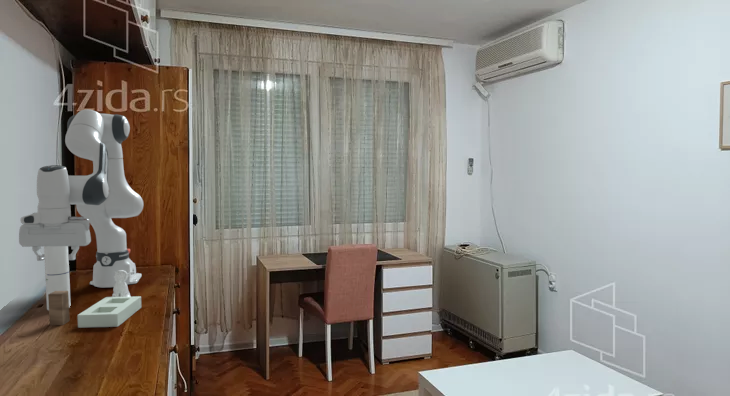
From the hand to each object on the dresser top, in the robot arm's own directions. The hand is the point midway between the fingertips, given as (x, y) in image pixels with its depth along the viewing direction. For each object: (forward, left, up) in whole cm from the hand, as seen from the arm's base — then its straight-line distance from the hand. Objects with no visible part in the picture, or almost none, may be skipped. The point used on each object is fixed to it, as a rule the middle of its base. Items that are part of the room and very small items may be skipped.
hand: (56, 260), depth 154 cm
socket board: (-5, +14, -21) cm, 25 cm away
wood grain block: (0, 0, -21) cm, 21 cm away
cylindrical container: (-17, -9, -21) cm, 28 cm away
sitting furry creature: (-22, +10, -21) cm, 32 cm away
